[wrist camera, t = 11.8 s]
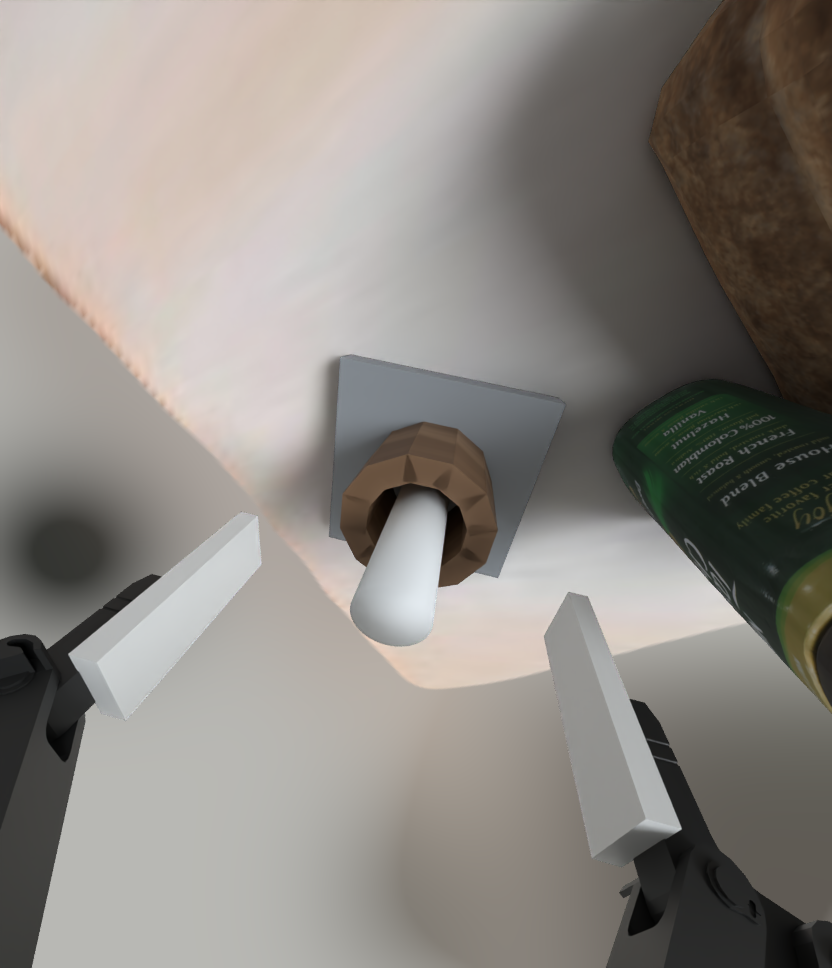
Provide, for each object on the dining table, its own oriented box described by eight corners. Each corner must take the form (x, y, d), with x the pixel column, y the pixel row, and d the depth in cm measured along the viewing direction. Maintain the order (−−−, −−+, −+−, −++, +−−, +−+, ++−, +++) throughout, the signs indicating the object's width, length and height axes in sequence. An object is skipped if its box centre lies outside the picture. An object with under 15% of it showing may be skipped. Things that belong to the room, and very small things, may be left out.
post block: (350, 354, 22) (190, 393, 9) (558, 397, 21) (682, 502, 9) (338, 523, 28) (232, 679, 16) (496, 561, 27) (516, 757, 15)
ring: (378, 411, 21) (346, 440, 16) (505, 438, 21) (516, 478, 15) (365, 517, 25) (336, 569, 20) (471, 542, 25) (472, 602, 19)
